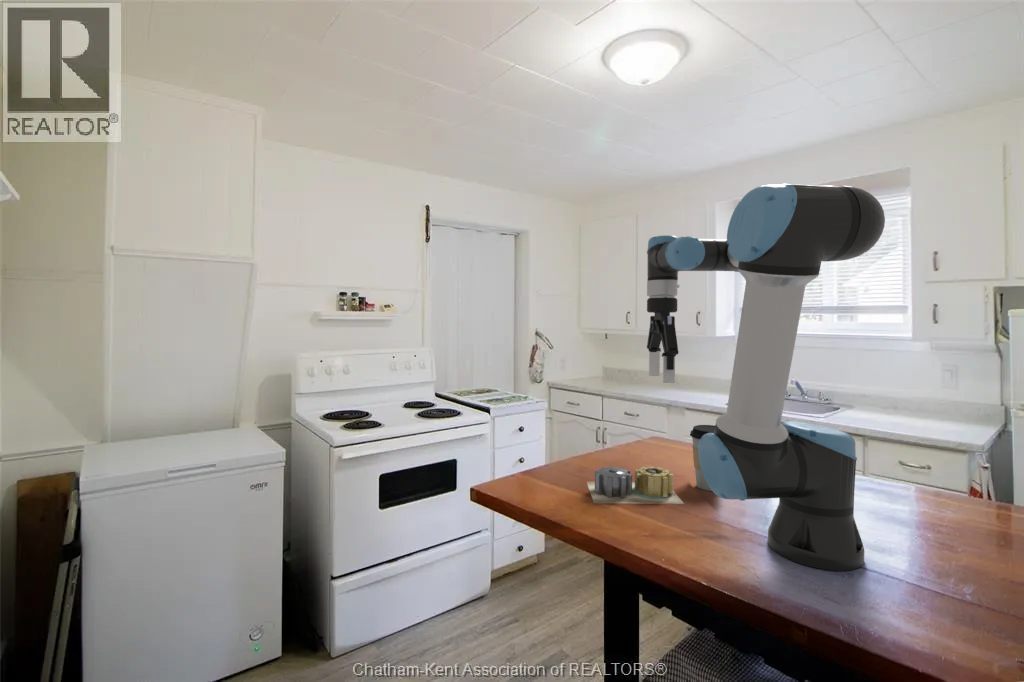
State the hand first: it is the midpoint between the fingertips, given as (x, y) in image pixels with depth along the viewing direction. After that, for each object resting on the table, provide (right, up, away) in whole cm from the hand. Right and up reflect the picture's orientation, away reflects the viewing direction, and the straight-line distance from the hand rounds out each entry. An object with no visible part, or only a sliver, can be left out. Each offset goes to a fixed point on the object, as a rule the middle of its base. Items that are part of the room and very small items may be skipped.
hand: (661, 379), depth 127 cm
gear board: (-10, -27, -11) cm, 31 cm away
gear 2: (-5, -26, -11) cm, 29 cm away
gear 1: (-15, -26, -11) cm, 32 cm away
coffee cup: (+11, -27, -4) cm, 29 cm away
